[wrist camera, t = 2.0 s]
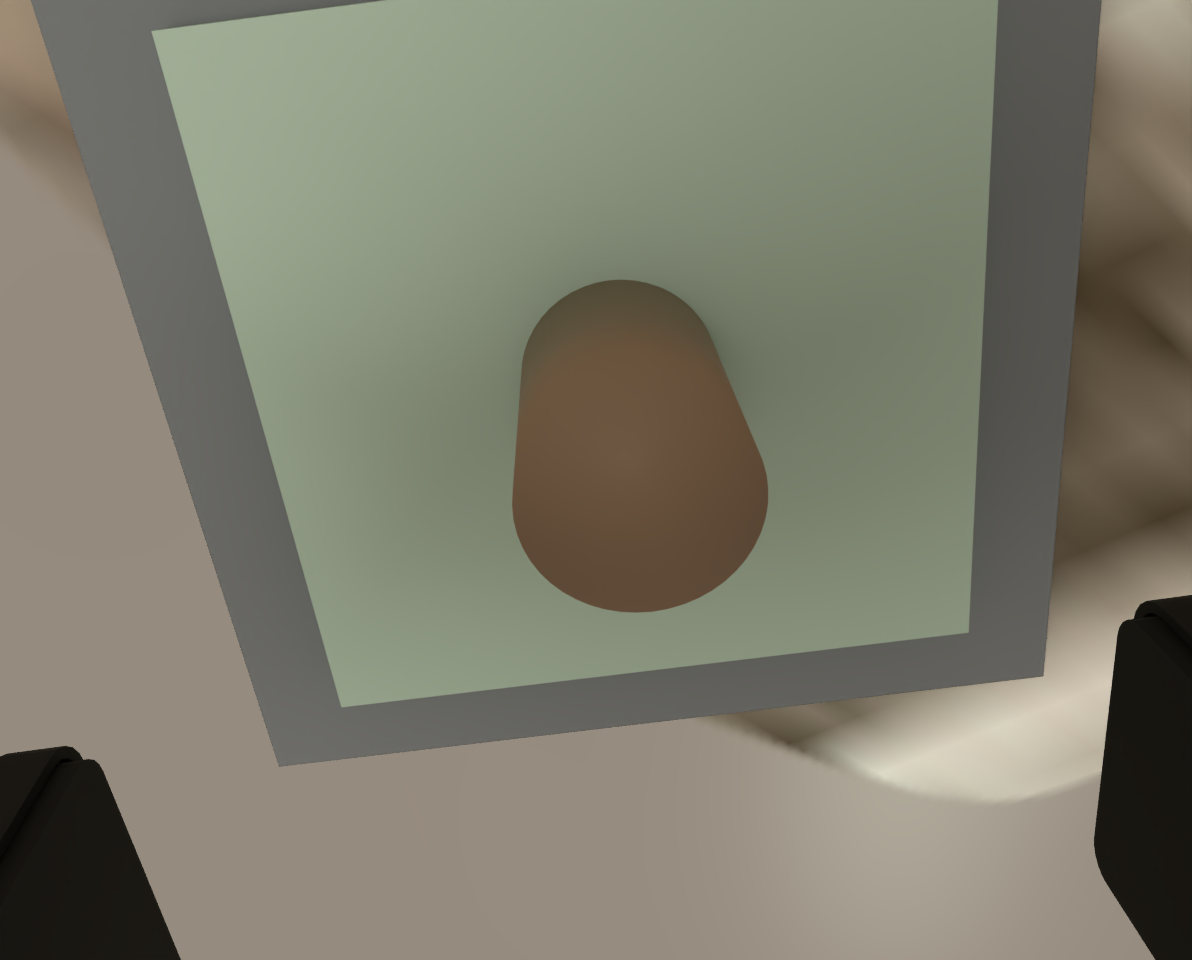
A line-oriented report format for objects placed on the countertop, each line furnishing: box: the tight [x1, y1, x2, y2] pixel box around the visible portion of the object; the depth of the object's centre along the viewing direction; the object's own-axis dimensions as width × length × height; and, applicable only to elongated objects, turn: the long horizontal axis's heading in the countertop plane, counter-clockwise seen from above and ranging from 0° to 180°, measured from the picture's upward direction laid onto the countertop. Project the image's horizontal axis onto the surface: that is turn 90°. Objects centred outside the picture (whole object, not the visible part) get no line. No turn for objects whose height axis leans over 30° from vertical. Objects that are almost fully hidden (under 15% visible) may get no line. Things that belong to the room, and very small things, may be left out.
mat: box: [31, 0, 1101, 767], centre depth 20 cm, size 17×17×1 cm
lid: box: [151, 0, 998, 707], centre depth 17 cm, size 13×13×6 cm
